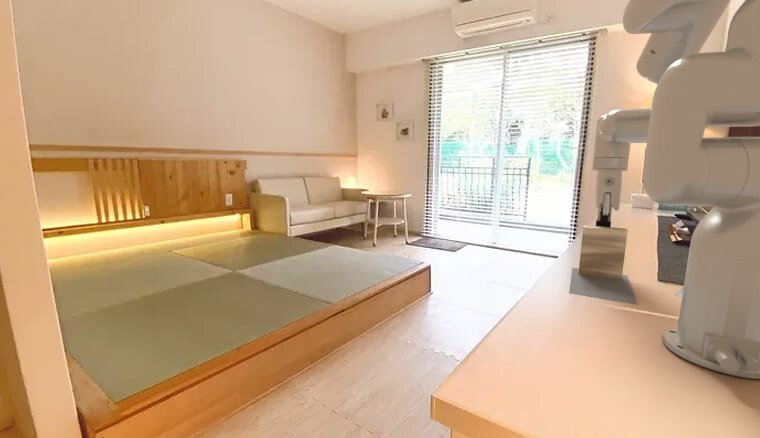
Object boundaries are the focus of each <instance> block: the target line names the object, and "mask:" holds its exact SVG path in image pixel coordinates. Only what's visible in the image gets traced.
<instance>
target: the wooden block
mask: <svg viewBox="0 0 760 438" xmlns="http://www.w3.org/2000/svg"><path fill="white" fill-rule="evenodd" d="M627 239H628V229H627V228H624V227H623V228H621V227H612V226H611V227H600V226H596V225H587V224H586V225H585V224H583V226H582V235H581V244H580V245H581V246H580V255H579V263H578V264H579V265H578V269H579V274H583V275H590V276H597V277H604V278H611V279H618V280H622V275H623V273H624V272H623V271H624V263H625V256H626V255H625V254H626V249H627V248H626V247H627V241H628V240H627Z"/></svg>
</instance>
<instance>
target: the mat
mask: <svg viewBox="0 0 760 438" xmlns="http://www.w3.org/2000/svg"><path fill="white" fill-rule="evenodd" d="M568 294H572V295H577V296H585V297H589V298H597V299H601V300H602V299H603V300H607V301H615V302H620V303H627V304H632V305H639V304H638V301H637V299H636V296H635V293H634V290H633V288H632V285H631V282H630V279H629V277H628V275H627V274H622V280H618V279H611V278H604V277H597V276H590V275H583V274H579V267H578V268H577V267H576V268H575V267H572V268H571V276H570V283H569V291H568Z"/></svg>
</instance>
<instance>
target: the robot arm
mask: <svg viewBox="0 0 760 438" xmlns="http://www.w3.org/2000/svg"><path fill="white" fill-rule="evenodd" d="M730 1H731V0H628V1H627V2H626V5H625V7H624V12H623V17H622V26H623V28H624V30H625V32H626V33H628V34H630V35H642V34H645V35H646V34H650V35H649V37H648V39H647V41H646V43H645V46H644V48H643V50H642V51H641V53H640V56H639V57H638V60H637V62H636V64H635V65H636V70H637V73H638V74H639V75H640V76H641V77H642V78H644V79H645V80H647V81H649V82H651V83H653V84H656V87H655V90H654V93H653V97H652V101H651V108H634V109H633V108H631V109H627V108H626V109H623V108H622V109H615V110H611V111H609V112H608V113H607V114H605V115H601V116H599V118H598V119H597V121H596V122H597V123H596V130H595V131H596V132H595V139H594V140H595V141H594V152H593V159H592V166H591V167H592V168H591V171H597V172H596V183H595V198H594V199H595V208H596V209H597V219H596V221H595V226H600V227H612V226H611V225H612V221H611V219H612V210H613V209H614V210H615V211H616V212H618V211H619V210H620V206H621V205H620V202H621V195H622V194H621V192H622V184H623V183H622V182H623V172H627V171H628V167H629V159H630V151H631V144H646V147H645V154H644V161H643V171H642V172H643V173H642V180H643V181H642V184H643V188H644V190H645V193H646V195H647V196H648V197H649V199H650V200H652V201H653V202H655V203H657V204H659V205H660V204H661V205H664V206H665V205H666V206H675V207H676V206H677V207H678V206H680V207H703V208H704V207H706V208H707V207H709V208H710V207H711V209H710V210H709V211H708V213H707V214H705V216H704V217H703V218H702V219H701V220H700V221H699V223H698V224H697V225H696V227H695V229H694V230H693V233H692V235H691V239H690V246H689V250H688V257H687V263H686V268H685V269H686V270H685V278H684V281H683V283H684V284H683V287H684V289H683V295H682V297H681V302H680V309H679V317H678V322H677V327H675V328H670V329H667V330H665V331H664V332H663V335H662V342H663V344H664V345H665V347H666V348H667V349H668V350H670V352H672V353H674V354H676V355H677V356H679V357H680V358H683V359H685V360H686V361H689V362H691V363H693V364H696V365H697V366H700V367H702V368H706V369H709V370H711V371H715V372H718V373H722V374H726V375H730V376H735V377H738V378H739V377H740V378H744V379H754V380H755V379H756V380H760V136H725V137H723V136H722V137H704V134H705V130H706V128H724V127H726V128H727V127H728V128H729V127H730V128H731V127H735V128H736V127H738V128H739V127H742V128H743V127H760V0H744V2H743V3H742V4H741V5H740V6H739V7H738V9H737V10H736V11H735V13H734V14H733V16H732V18H731V20H730V22H729V26H728V31H727V38H726V46H725V49H724V51H707V52H706V51H705V52H700V51H701V50H702V48H703V46H704V45H705V43H706V41H707V40H708V39H709V37H710V35H711V34H712V32H713V31H714V29H715V27H716V26H717V24H718V23H719V21H720V19H721V17H722V16H723V14H724V12H725V11H726V9H727V7H728V6H729V3H731V2H730Z"/></svg>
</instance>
